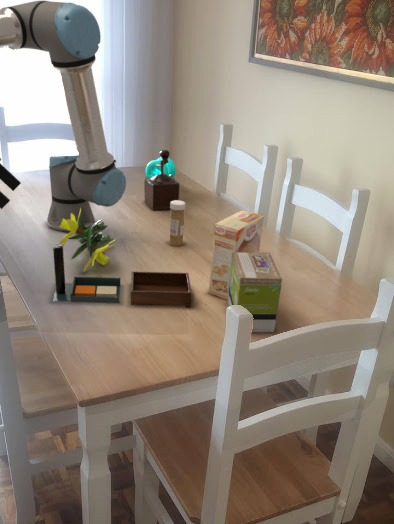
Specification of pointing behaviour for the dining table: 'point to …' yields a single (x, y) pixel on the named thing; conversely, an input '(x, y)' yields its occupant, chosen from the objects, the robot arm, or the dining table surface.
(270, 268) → the tea box
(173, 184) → the wooden coffee grinder
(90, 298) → the green tray with post
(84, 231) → the daffodil flowers
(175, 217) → the spice jar
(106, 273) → the dining table surface
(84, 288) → the sachet orange
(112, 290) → the block
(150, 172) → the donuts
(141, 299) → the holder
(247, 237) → the coffeecake box
